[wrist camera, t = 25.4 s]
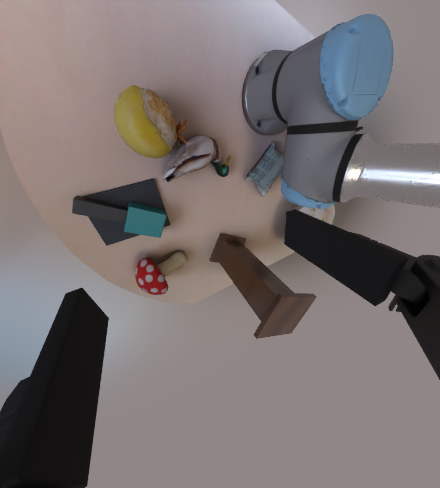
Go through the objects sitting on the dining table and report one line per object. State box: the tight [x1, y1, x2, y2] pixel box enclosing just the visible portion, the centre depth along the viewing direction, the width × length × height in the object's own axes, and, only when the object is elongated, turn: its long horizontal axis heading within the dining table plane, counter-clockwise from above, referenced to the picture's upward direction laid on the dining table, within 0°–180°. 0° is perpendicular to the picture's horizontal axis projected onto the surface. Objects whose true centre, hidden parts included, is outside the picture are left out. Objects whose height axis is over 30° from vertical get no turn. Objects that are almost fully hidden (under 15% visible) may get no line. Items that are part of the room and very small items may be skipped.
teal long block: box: [72, 196, 167, 238], centre depth 40 cm, size 18×6×4 cm, turn 67°
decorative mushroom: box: [135, 252, 188, 295], centre depth 49 cm, size 11×11×15 cm
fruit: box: [115, 86, 177, 158], centre depth 32 cm, size 10×11×10 cm
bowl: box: [285, 205, 335, 225], centre depth 61 cm, size 19×19×10 cm
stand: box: [210, 233, 316, 339], centre depth 48 cm, size 11×11×29 cm
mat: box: [83, 179, 170, 245], centre depth 42 cm, size 16×12×1 cm
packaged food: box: [245, 141, 284, 196], centre depth 49 cm, size 9×12×5 cm
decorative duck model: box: [162, 120, 231, 182], centre depth 40 cm, size 15×8×15 cm
